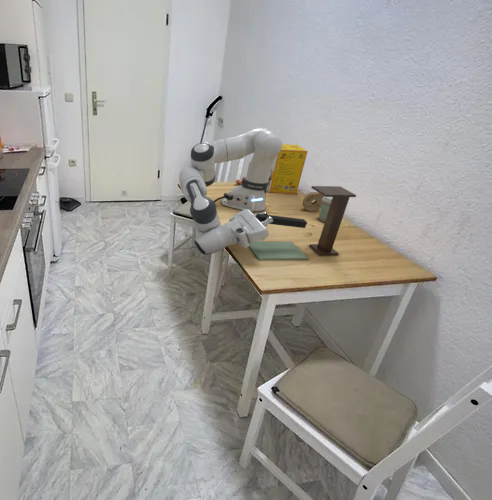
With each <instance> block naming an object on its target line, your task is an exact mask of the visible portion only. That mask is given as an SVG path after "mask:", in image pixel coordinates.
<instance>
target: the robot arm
mask: <svg viewBox="0 0 492 500" xmlns="http://www.w3.org/2000/svg"><path fill="white" fill-rule="evenodd" d="M282 144H283V141H282V139H281V137H280V135H279V134H277V133H276V132H274V131H272V130H271V129H269V128H267V127H256V128H254V129H252V130H250V131H249V130H248V131H247V132H245V133H244V132H243V133H242V134H238V135H235V136H230V137H225V138H220V139H217V140H215V141H211V142H208V143H206V142H200V143H197V144H195V145H194V146H193V147H192V148H191V150H190V166H186V167H184V168H183V169H181V170H180V172H179V175H178V182H179V187H180V190H181V193H182V195H183V197H184V198H185V200H186V201H187V202H189V203H190V207H189V213H190V215H191V218H192V219H193V222H194V224H195V227H196V237H195V239H193V241H194V245H195V247H196V248H197V250H198V251H199V252H200V254H202V255H204V256H207V255H212V254H215V253H218V252H220V251H222V250H224V249H226V248H227V247H229V246H235V245H238V246H241V247H243V248H249V243H250V244H254V243H257V242H262V241H263V240H265V239H267V238H268V237H269V236H270V235H269V231H268V228H267V227H268V226H269V225H270V224H269V223H271V222H273V219H272V218H271V217H268V218H266V220H265V221H262V222H260V221H259V220H258V219H257V218H256V215H257V214H265V215H269V214H268V212H267V211H265V210H266V207H267V206H266V196H267V193H268V191H267V190H268V185H269V182H268V180H269V176H270V171H271V168H272V165H273V162H274V160H275V158H276V156H277V154H278V153H279V152H280V151H281V149H282ZM252 154H253V155H252ZM249 155H252V157H251V159H250V161H249V163H248V166H247V171H246V176H243V177H242V178H241V180H240V181H241V185H237V186H235V187H234V188H231V189H230V190H229V192H224V193H223V196H220V197H217V198H215V200H212V199H211V198H210V197H209V196H208V195H207V193H208V189H207V187H210V186H212V185H213V184H214V183H215V180H216V164H222V163H227V162H232V161H236V160H241V159H244V158H245V157H247V156H249ZM220 200H221V204H222V205H223V206H225V207H229V208H233V209H236V210H240V211H238V212H237V213H235V214H234V215H232V217H230V219H229V220H228V221H227V222H226V223H223V224H221V220H220V216H219V214H218V211H217V210H218V209H217V205H216V203H217V202H218V201H220ZM262 211H263V212H262ZM253 212H256V213H255V214H254V213H253ZM257 212H259V213H257Z"/></svg>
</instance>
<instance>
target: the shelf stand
mask: <svg viewBox="0 0 492 500" xmlns="http://www.w3.org/2000/svg"><path fill="white" fill-rule="evenodd" d="M311 189H312V190H314V192H318V193H320V194H322V195H323V196H325V197H333V198H332V201H331V204H330V208H329V211H328V214H327V217H326V220H325V222H323V223H324V224H323V227H322V230H321V232H320V236H319V239H318V243H310V244H309V248H310V249H312V250H313V251H314V252H315V253H316V254H317V255H319V256H339V252H338V251H337V250H335V249H334V244H335V242H336V238H337V236H338V233H339V230H340V226H341V224H342V220H343V218H344V215H345V212H346V209H347V206H348V203H349V200H350V199H351V198H356V197H357V194H355V193H354V192H351V191H350V190H347V188H344V187H342V186H339V185H338V186H337V185H333V186H332V185H311Z"/></svg>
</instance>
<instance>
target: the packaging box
mask: <svg viewBox="0 0 492 500" xmlns="http://www.w3.org/2000/svg"><path fill="white" fill-rule="evenodd" d="M307 155H308V150H306V149H305V148H303V147H302V146H300V145H298V144H289V143H288V144H287V143H286V144H285V143H282V149H281V151H280V152H279V153H278V154H277V156H276V158H275V160H274V162H273V165H272V168H271V171H270V176H269V180H268V182H269V185H268V190H267V193H273V194H274V193H275V194H290V195H291V194H293V195H297V193H298V189H299V185H300V181H301V177H302V175H303V171H304V167H305V164H306V163H305V162H306V159H307Z"/></svg>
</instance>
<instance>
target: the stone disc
mask: <svg viewBox="0 0 492 500" xmlns="http://www.w3.org/2000/svg"><path fill="white" fill-rule="evenodd" d="M323 197H324V196H323V195H322V194H320V193H319V192H317V191H311V192H308V193H307V194H306V195H305V196H304V198H303V199H302V207H303V208H304V209H305V210H306V211H309V212H317V211H319V210H321V205H322V198H323Z"/></svg>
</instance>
